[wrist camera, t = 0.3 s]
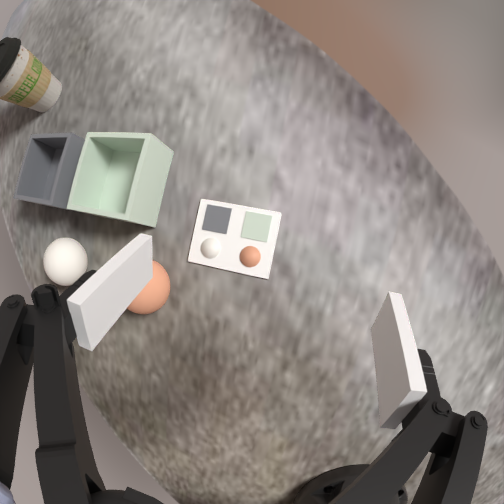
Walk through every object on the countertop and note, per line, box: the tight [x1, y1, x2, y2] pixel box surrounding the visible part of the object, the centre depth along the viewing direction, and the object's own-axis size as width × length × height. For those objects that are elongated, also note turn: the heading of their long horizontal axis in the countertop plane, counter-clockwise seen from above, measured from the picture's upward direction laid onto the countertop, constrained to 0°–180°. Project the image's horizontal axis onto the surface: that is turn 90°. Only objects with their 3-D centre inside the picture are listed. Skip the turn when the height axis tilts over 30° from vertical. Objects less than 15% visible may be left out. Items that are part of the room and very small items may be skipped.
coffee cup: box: [0, 37, 62, 112], centre depth 33 cm, size 10×10×15 cm
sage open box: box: [67, 132, 174, 228], centre depth 33 cm, size 9×9×6 cm
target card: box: [188, 199, 282, 279], centre depth 33 cm, size 7×9×1 cm
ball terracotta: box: [127, 260, 170, 314], centre depth 32 cm, size 6×6×6 cm
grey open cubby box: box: [13, 133, 85, 213], centre depth 35 cm, size 9×9×6 cm
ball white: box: [43, 237, 88, 286], centre depth 34 cm, size 6×6×6 cm
